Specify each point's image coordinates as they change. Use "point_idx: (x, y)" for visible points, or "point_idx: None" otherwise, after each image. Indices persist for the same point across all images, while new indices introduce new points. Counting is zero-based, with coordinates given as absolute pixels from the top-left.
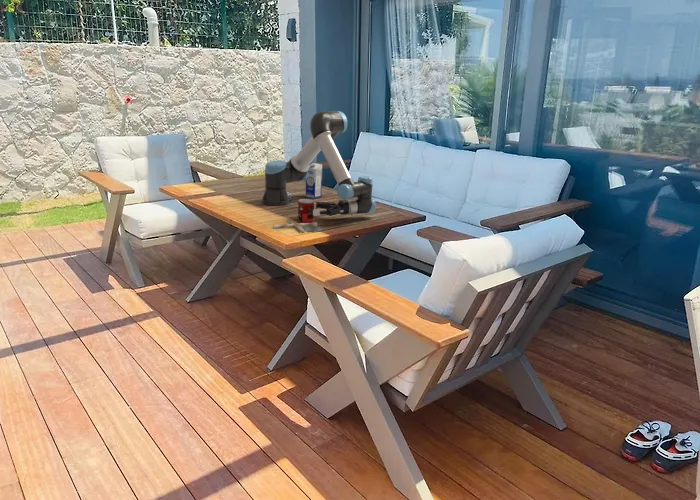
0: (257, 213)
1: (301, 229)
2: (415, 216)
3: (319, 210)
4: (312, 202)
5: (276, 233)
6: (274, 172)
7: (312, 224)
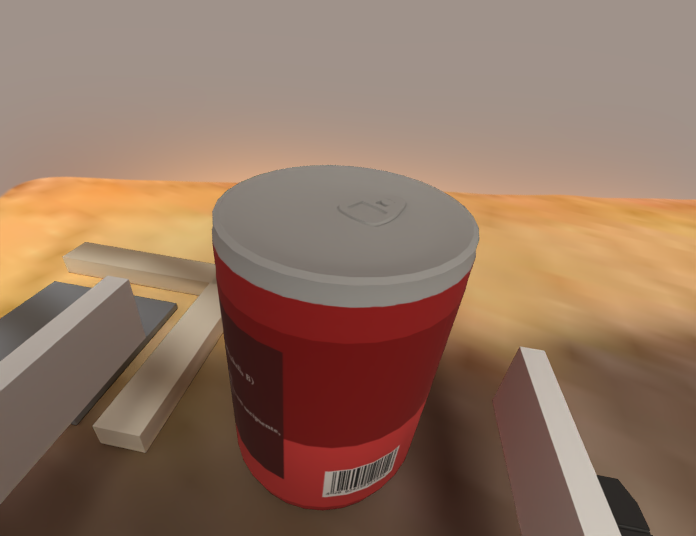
0: (606, 270)
1: (100, 253)
2: None
3: (30, 346)
4: (214, 236)
5: (199, 201)
6: None
7: (135, 381)
